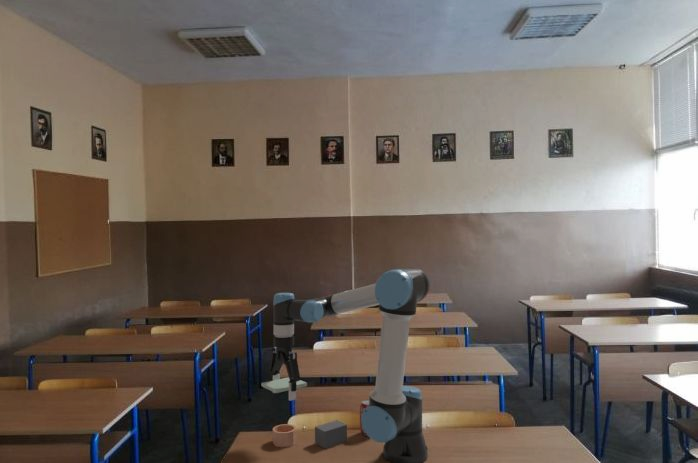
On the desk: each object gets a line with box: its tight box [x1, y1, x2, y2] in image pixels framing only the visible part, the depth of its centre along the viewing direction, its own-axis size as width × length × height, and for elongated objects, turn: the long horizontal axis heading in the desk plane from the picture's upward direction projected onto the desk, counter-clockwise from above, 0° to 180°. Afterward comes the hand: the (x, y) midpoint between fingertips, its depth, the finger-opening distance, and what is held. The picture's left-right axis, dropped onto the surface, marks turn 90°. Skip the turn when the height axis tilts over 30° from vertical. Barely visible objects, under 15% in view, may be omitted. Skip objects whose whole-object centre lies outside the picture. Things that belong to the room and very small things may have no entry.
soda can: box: [359, 399, 369, 437], centre depth 188 cm, size 7×7×12 cm
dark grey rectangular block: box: [314, 420, 348, 449], centre depth 180 cm, size 6×10×6 cm, turn 129°
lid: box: [261, 376, 308, 394], centre depth 181 cm, size 10×13×1 cm
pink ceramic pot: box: [272, 423, 297, 448], centre depth 181 cm, size 8×8×5 cm
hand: (284, 395), depth 181 cm, fingers closed on lid, 10 cm apart
